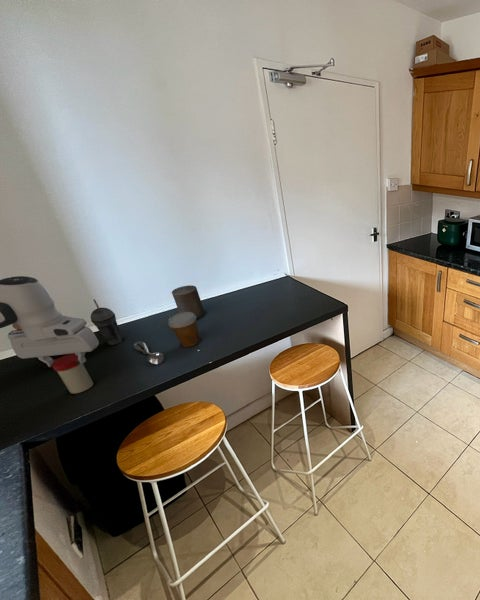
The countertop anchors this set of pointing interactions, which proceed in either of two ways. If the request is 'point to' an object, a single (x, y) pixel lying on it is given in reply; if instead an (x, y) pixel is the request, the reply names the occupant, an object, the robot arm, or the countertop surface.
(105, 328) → the beverage cup
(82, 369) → the jam jar
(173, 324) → the disposable coffee cup
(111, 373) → the countertop surface
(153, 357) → the metal scoop
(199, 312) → the pillar candle
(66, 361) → the jam lid
